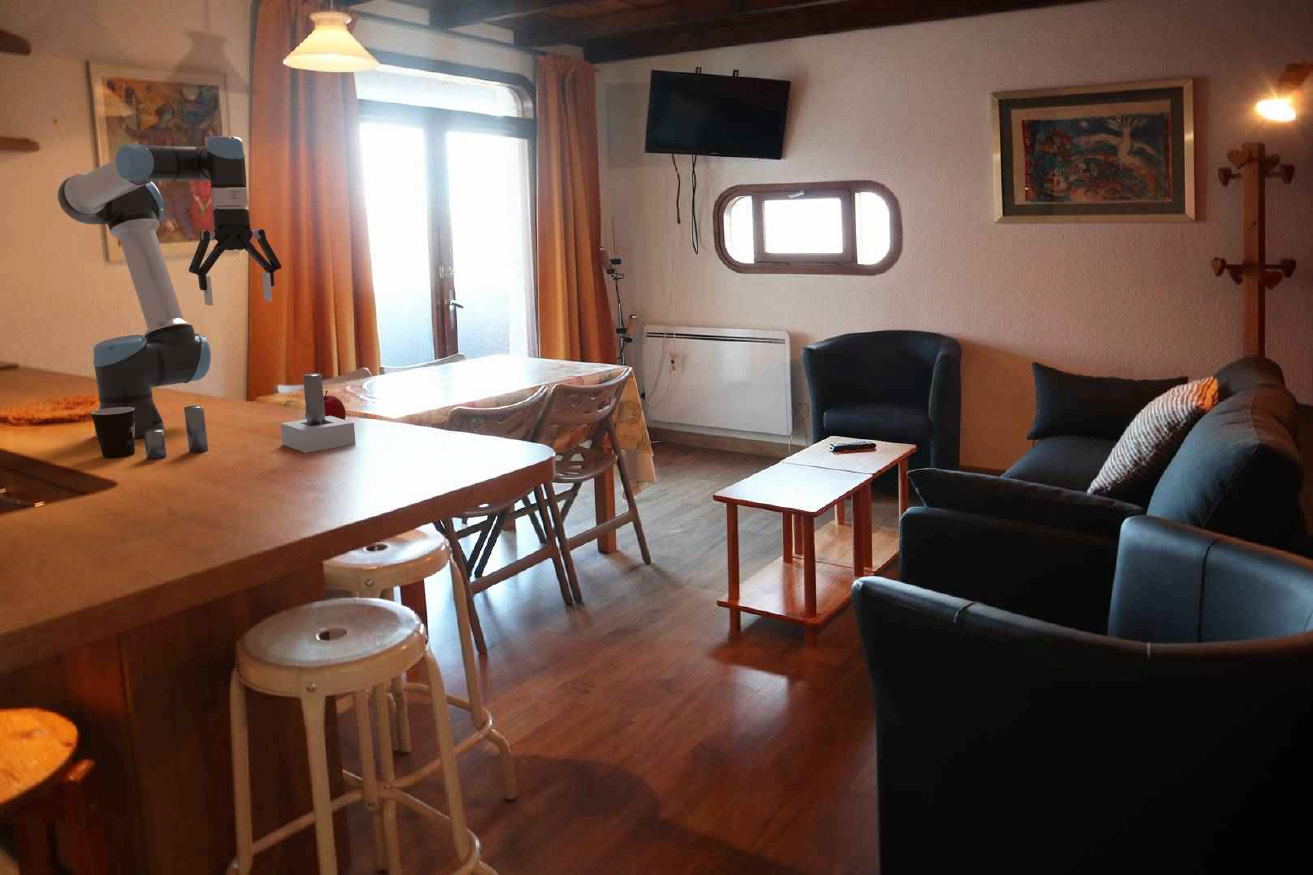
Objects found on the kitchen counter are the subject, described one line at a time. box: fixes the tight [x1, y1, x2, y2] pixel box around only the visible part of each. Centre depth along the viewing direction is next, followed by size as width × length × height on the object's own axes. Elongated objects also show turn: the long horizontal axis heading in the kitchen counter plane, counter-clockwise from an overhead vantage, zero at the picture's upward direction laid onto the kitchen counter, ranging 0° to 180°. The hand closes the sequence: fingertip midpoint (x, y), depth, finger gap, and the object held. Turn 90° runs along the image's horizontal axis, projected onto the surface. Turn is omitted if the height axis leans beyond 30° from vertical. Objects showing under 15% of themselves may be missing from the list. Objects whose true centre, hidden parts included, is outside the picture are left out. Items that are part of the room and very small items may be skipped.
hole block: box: [280, 416, 357, 454], centre depth 245 cm, size 12×12×5 cm
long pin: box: [302, 373, 326, 426], centre depth 244 cm, size 4×4×16 cm
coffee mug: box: [91, 407, 136, 459], centre depth 239 cm, size 12×9×10 cm
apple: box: [305, 390, 347, 420], centre depth 259 cm, size 9×9×10 cm
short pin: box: [143, 429, 168, 461], centre depth 235 cm, size 4×4×6 cm
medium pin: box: [183, 404, 209, 454], centre depth 240 cm, size 4×4×10 cm
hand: (239, 303), depth 246 cm, fingers open, 13 cm apart
